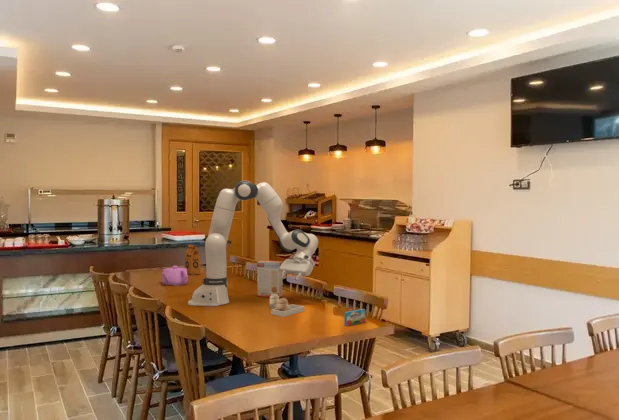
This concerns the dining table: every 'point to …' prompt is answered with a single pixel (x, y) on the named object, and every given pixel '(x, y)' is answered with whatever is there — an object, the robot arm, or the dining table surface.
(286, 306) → the brown egg
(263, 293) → the cracker box
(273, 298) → the cream egg
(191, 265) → the coffee package
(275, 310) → the carton
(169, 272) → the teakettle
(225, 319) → the dining table surface
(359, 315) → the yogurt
